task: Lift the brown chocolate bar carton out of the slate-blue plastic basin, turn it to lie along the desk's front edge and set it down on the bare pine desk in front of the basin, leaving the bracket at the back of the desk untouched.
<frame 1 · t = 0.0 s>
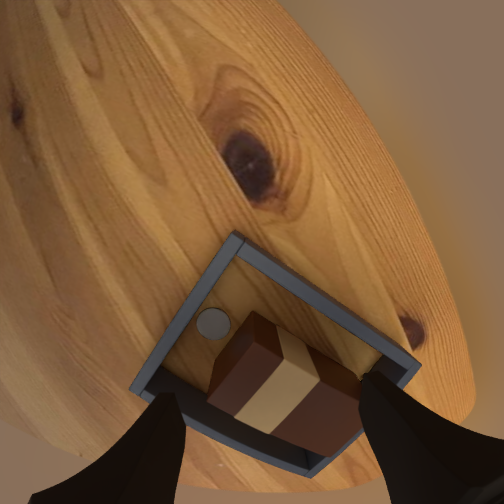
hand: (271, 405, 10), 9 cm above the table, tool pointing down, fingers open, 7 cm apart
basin: (275, 362, 20), on the table
chocolate bar: (287, 369, 20), resting in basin
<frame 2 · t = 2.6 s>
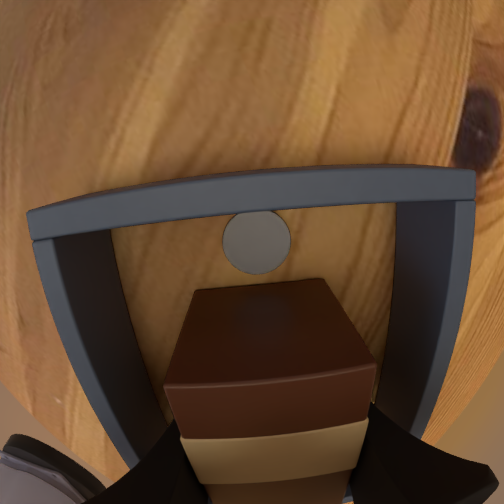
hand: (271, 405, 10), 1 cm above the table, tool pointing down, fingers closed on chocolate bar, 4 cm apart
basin: (267, 364, 11), on the table
chocolate bar: (268, 383, 12), resting in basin, touching gripper
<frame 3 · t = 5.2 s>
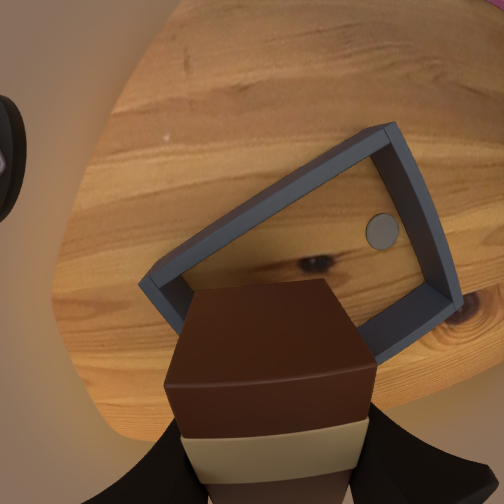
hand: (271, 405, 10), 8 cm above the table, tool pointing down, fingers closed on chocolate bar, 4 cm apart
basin: (313, 275, 18), on the table
chocolate bar: (268, 383, 12), point 7 cm above the table, touching gripper
when the fingers open (1 cm above the table, at t = 8.2 s): chocolate bar stays where it is, on the table.
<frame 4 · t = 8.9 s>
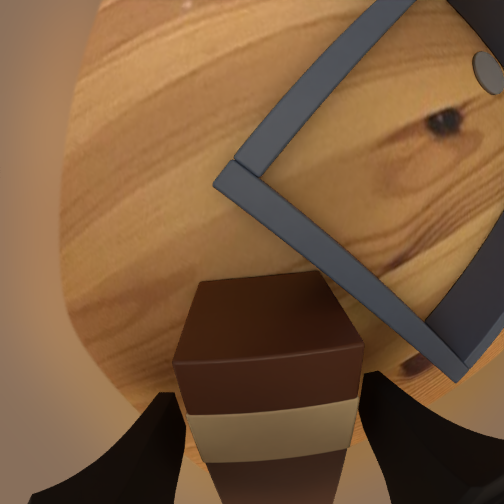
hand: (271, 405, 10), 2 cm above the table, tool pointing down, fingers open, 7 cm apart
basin: (447, 138, 10), on the table
chocolate bar: (267, 371, 13), on the table
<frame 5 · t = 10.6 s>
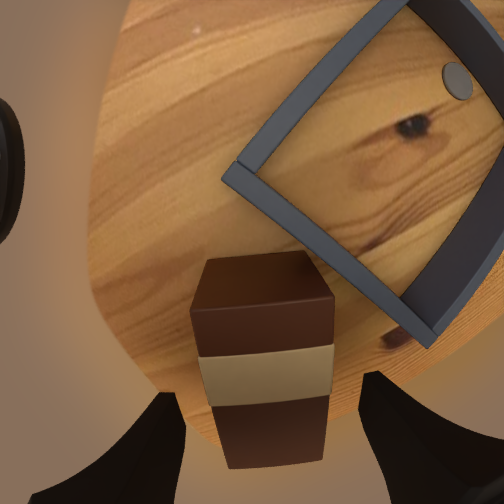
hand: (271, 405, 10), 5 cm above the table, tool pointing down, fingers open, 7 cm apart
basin: (415, 140, 12), on the table
chocolate bar: (263, 338, 15), on the table
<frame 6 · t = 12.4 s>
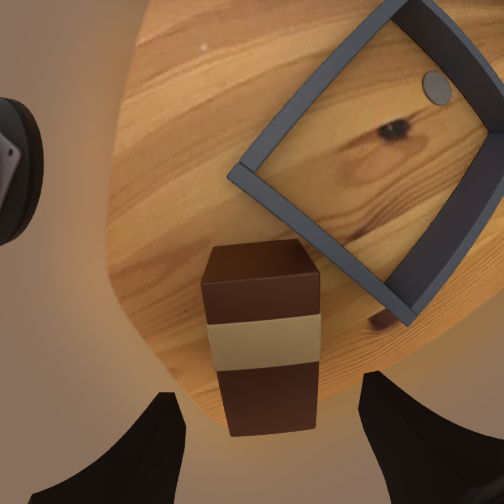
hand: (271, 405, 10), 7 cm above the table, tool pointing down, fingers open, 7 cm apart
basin: (396, 142, 15), on the table
chocolate bar: (262, 318, 17), on the table
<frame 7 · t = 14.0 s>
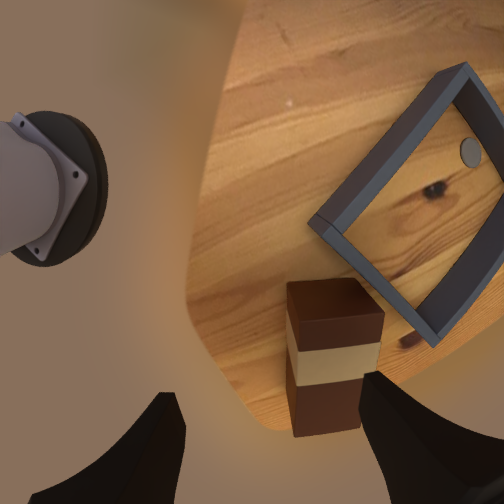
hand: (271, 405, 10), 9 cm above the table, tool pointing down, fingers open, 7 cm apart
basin: (435, 200, 18), on the table
chocolate bar: (318, 339, 20), on the table
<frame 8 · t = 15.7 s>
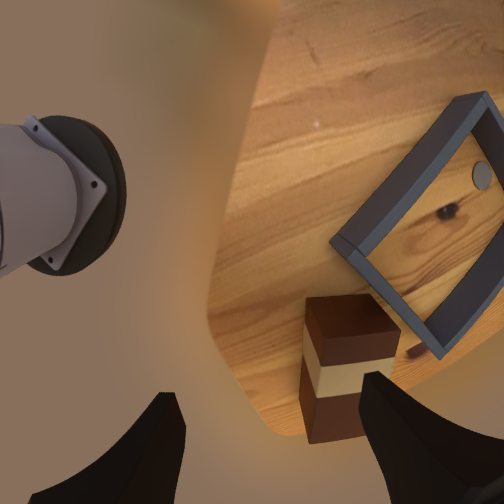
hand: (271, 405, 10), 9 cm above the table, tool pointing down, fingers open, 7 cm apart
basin: (447, 221, 18), on the table
chocolate bar: (332, 351, 21), on the table
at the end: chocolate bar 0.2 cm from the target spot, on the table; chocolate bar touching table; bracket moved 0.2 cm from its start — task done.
